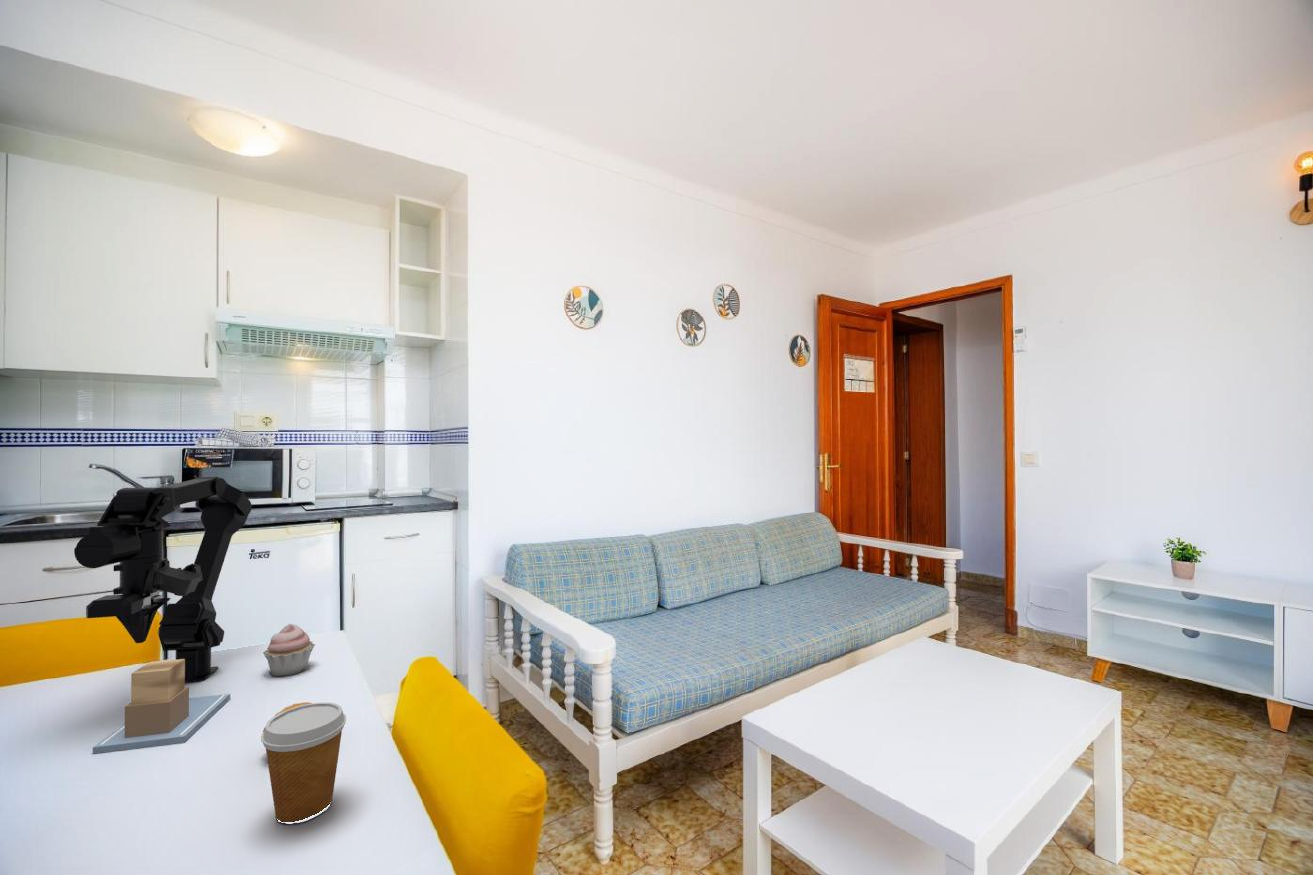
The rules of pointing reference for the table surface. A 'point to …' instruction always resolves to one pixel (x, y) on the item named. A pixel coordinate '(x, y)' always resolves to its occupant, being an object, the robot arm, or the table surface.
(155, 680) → the oak cube
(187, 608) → the robot arm
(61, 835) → the table surface
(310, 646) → the cupcake
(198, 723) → the blueprint board
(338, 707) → the disposable coffee cup
